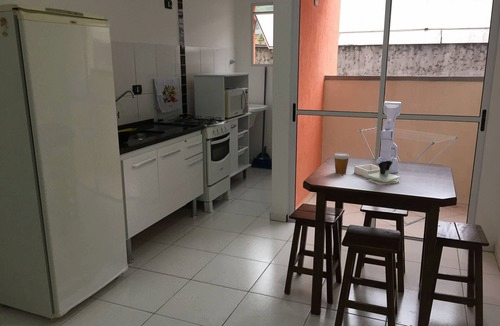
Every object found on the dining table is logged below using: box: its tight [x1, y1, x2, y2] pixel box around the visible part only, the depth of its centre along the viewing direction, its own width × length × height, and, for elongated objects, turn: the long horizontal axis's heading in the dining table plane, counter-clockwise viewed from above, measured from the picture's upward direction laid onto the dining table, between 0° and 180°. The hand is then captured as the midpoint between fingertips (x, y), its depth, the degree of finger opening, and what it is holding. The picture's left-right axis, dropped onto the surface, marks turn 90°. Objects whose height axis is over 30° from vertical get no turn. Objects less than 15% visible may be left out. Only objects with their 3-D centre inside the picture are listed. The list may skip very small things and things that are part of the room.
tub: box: [353, 163, 380, 179], centre depth 254 cm, size 13×13×4 cm
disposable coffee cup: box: [333, 152, 350, 175], centre depth 257 cm, size 10×10×12 cm
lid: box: [367, 169, 401, 183], centre depth 240 cm, size 13×13×5 cm
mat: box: [368, 178, 400, 186], centre depth 241 cm, size 14×10×1 cm
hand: (384, 173), depth 240 cm, fingers closed on lid, 2 cm apart
